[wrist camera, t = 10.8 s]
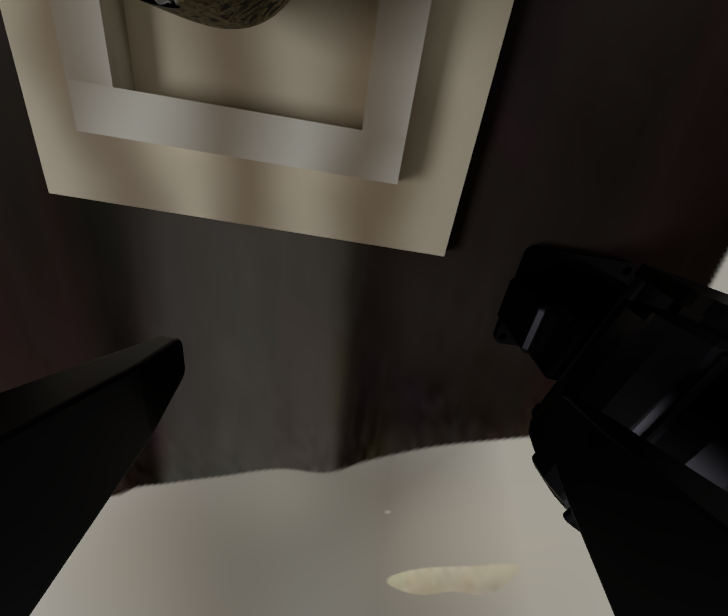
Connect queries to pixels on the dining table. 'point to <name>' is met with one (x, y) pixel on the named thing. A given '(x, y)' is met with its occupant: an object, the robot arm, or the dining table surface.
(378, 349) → the dining table surface
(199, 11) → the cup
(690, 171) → the dining table surface
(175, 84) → the docking plate
